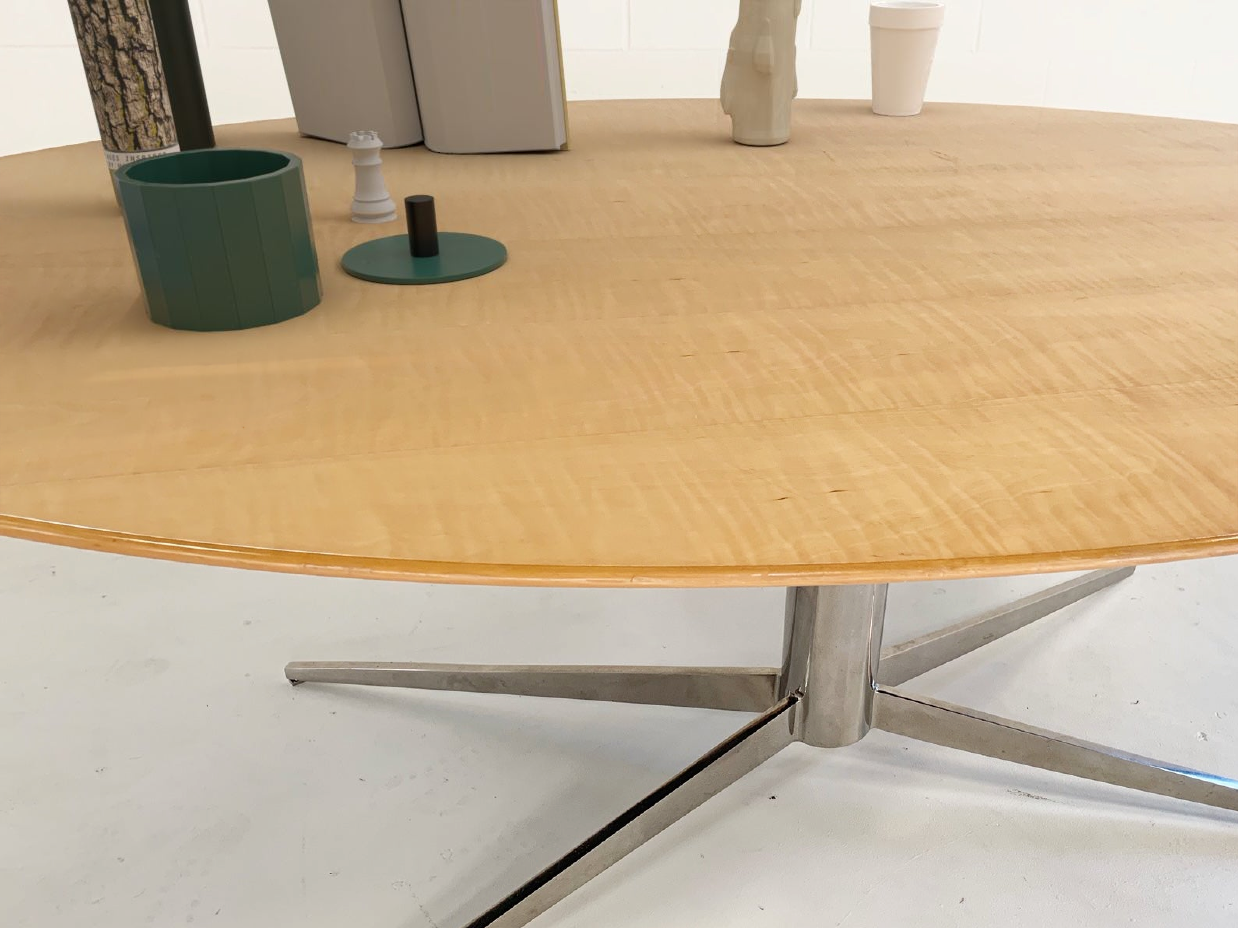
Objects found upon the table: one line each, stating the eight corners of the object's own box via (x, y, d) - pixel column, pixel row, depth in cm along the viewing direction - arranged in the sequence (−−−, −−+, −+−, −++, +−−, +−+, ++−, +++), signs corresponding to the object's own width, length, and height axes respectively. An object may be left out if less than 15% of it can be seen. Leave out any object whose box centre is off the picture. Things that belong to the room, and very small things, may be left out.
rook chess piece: (376, 214, 111) (364, 126, 107) (409, 221, 109) (399, 132, 105) (340, 224, 108) (327, 134, 104) (374, 231, 106) (362, 140, 101)
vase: (774, 151, 135) (790, -154, 119) (709, 144, 138) (716, -153, 122) (803, 138, 141) (822, -153, 125) (740, 131, 144) (751, -152, 129)
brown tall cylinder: (199, 208, 113) (138, -85, 100) (128, 219, 110) (55, -83, 97) (180, 195, 118) (119, -87, 105) (111, 205, 115) (39, -85, 102)
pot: (132, 343, 81) (93, 190, 76) (168, 289, 92) (136, 150, 86) (314, 333, 83) (289, 182, 77) (329, 280, 93) (308, 144, 88)
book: (575, 145, 137) (553, -90, 121) (550, 168, 131) (523, -75, 116) (313, 128, 147) (261, -89, 132) (279, 149, 142) (221, -76, 126)
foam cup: (944, 110, 156) (957, 3, 149) (909, 120, 150) (921, 9, 143) (883, 103, 161) (893, -1, 154) (847, 112, 155) (856, 5, 149)
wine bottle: (205, 151, 137) (146, -148, 121) (158, 151, 137) (92, -148, 121) (222, 142, 141) (167, -148, 125) (176, 141, 142) (115, -147, 126)
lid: (337, 296, 90) (326, 223, 87) (349, 248, 101) (340, 182, 98) (511, 287, 91) (506, 215, 88) (504, 240, 103) (499, 176, 100)
